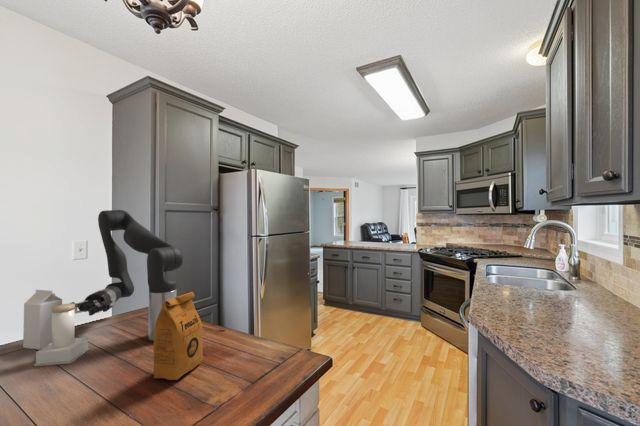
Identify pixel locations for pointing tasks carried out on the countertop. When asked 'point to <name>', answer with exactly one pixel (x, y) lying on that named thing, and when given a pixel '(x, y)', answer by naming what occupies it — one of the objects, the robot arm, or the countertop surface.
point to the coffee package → (177, 338)
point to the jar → (63, 325)
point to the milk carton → (39, 319)
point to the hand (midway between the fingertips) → (75, 313)
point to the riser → (61, 353)
